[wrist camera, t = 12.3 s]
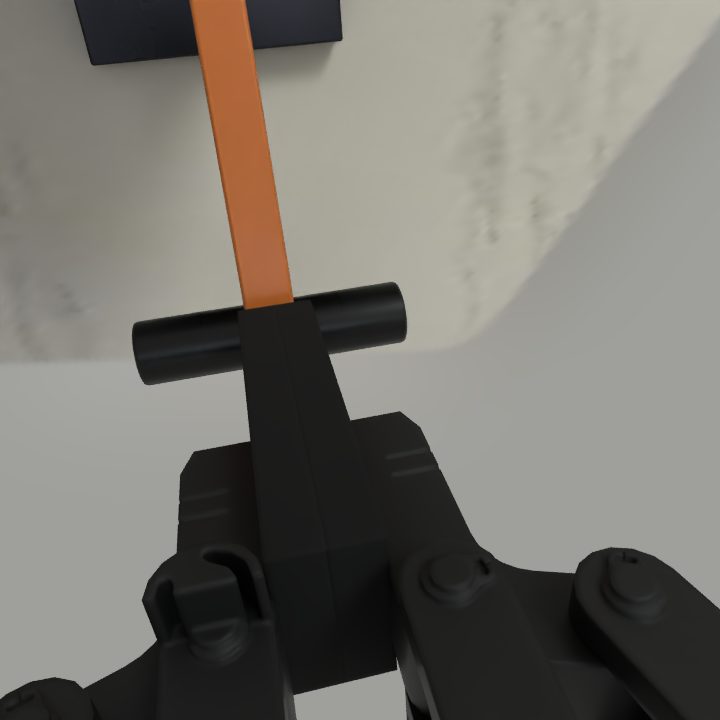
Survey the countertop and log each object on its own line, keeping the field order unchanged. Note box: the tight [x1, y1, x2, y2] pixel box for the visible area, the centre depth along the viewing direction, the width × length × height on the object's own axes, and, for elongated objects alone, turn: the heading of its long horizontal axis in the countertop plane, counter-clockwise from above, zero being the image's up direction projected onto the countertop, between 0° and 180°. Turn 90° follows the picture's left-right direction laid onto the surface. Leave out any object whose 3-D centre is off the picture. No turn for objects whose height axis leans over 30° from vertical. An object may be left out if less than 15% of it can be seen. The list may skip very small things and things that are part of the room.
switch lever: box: [132, 0, 407, 385], centre depth 13 cm, size 13×6×2 cm, turn 4°
